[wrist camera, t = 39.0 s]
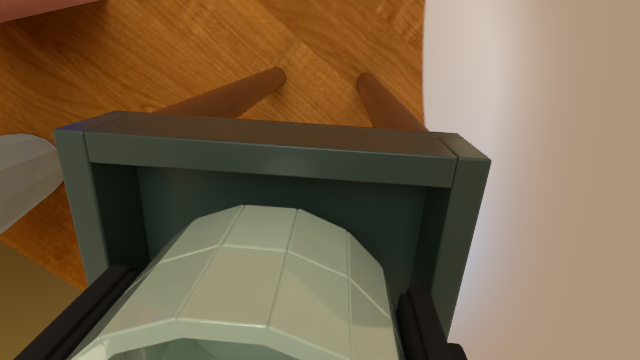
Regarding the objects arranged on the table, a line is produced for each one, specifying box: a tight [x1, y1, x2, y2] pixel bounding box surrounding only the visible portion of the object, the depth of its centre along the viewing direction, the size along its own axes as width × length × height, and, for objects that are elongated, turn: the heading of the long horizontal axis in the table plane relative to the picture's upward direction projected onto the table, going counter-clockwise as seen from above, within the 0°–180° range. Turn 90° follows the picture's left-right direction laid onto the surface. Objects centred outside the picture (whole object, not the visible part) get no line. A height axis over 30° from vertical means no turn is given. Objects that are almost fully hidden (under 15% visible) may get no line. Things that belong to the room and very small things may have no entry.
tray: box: [53, 67, 491, 340], centre depth 24 cm, size 11×19×27 cm, turn 177°
